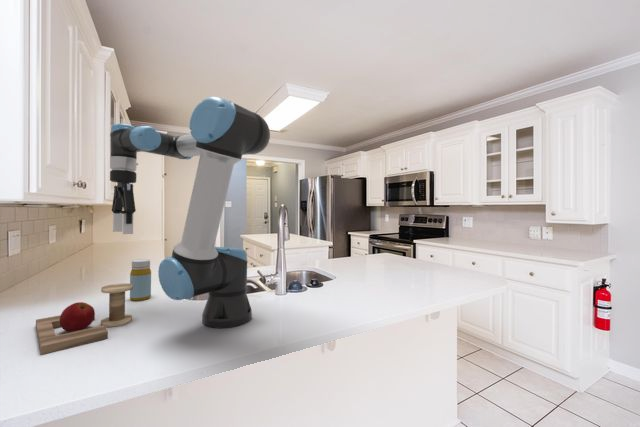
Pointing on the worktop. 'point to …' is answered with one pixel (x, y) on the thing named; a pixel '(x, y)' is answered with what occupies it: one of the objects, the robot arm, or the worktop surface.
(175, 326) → the worktop surface
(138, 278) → the bottle
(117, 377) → the worktop surface
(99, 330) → the notched board
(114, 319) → the bobbin
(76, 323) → the apple
